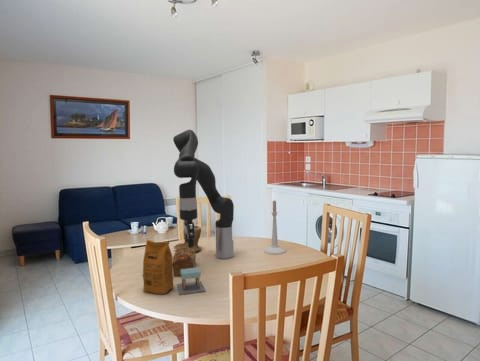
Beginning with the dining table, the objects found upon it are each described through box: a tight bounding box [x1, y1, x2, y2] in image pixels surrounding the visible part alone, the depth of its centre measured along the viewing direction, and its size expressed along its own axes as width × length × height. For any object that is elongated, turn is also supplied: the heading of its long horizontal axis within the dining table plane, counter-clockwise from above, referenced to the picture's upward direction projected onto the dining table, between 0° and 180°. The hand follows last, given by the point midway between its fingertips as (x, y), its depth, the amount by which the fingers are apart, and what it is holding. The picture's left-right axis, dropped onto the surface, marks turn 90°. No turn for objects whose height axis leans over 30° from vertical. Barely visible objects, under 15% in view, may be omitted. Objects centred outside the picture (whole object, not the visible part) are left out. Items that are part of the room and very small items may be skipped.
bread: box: [172, 248, 197, 277], centre depth 180 cm, size 19×11×10 cm, turn 3°
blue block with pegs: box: [180, 266, 202, 290], centre depth 156 cm, size 6×8×7 cm
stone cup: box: [173, 225, 202, 253], centre depth 211 cm, size 15×12×15 cm
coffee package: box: [142, 239, 174, 295], centre depth 155 cm, size 10×12×22 cm
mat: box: [176, 280, 206, 296], centre depth 157 cm, size 11×11×1 cm
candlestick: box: [263, 200, 287, 256], centre depth 206 cm, size 13×13×30 cm
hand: (189, 244), depth 155 cm, fingers open, 8 cm apart
